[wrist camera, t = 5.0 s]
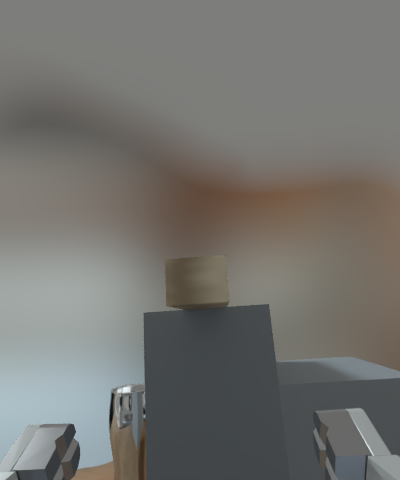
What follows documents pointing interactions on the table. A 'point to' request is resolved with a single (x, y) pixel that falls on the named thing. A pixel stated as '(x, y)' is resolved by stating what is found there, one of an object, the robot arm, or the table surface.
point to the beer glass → (128, 432)
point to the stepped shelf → (247, 398)
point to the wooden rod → (197, 282)
